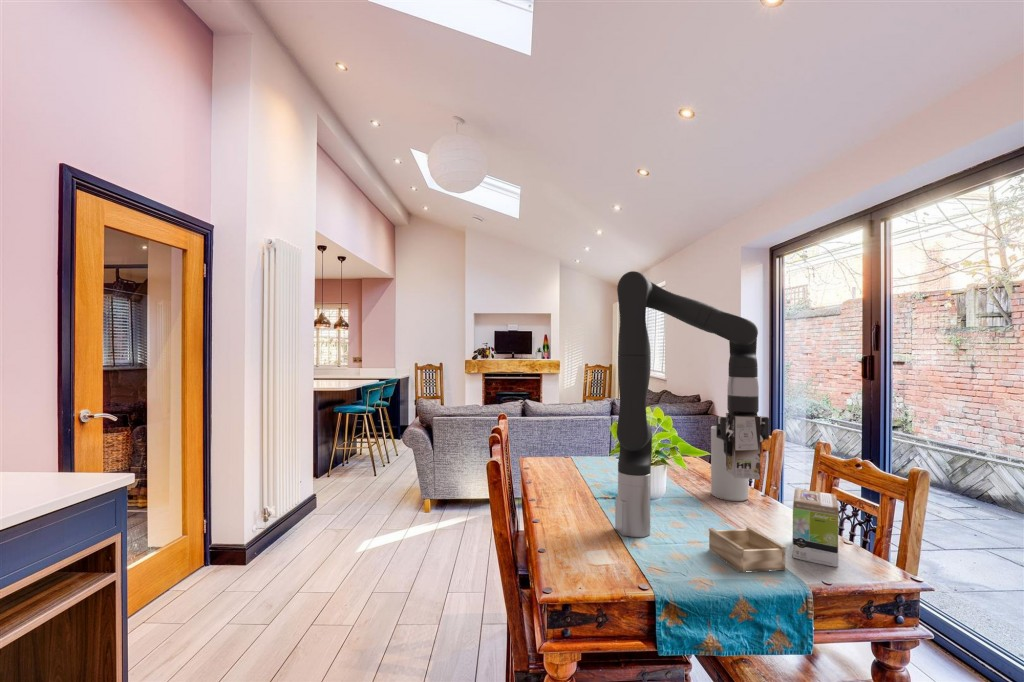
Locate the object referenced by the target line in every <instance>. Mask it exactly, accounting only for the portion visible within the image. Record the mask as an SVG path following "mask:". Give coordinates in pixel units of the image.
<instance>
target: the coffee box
mask: <svg viewBox="0 0 1024 682" xmlns="http://www.w3.org/2000/svg"><path fill="white" fill-rule="evenodd" d="M727 416H728V412H725V417H727ZM760 418H761V417H760V415H758V416H756V415H733V422H732V424H731V425H730V424H729V423H728V422H727V424H726V429H727V428H728V426H730V430H732V431H733V440H732V456H726V471H727V472H729V473H730V474H731V475H732V476H734V477H735V478H745V479H748V480H760V479H761V454H760Z"/></svg>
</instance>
